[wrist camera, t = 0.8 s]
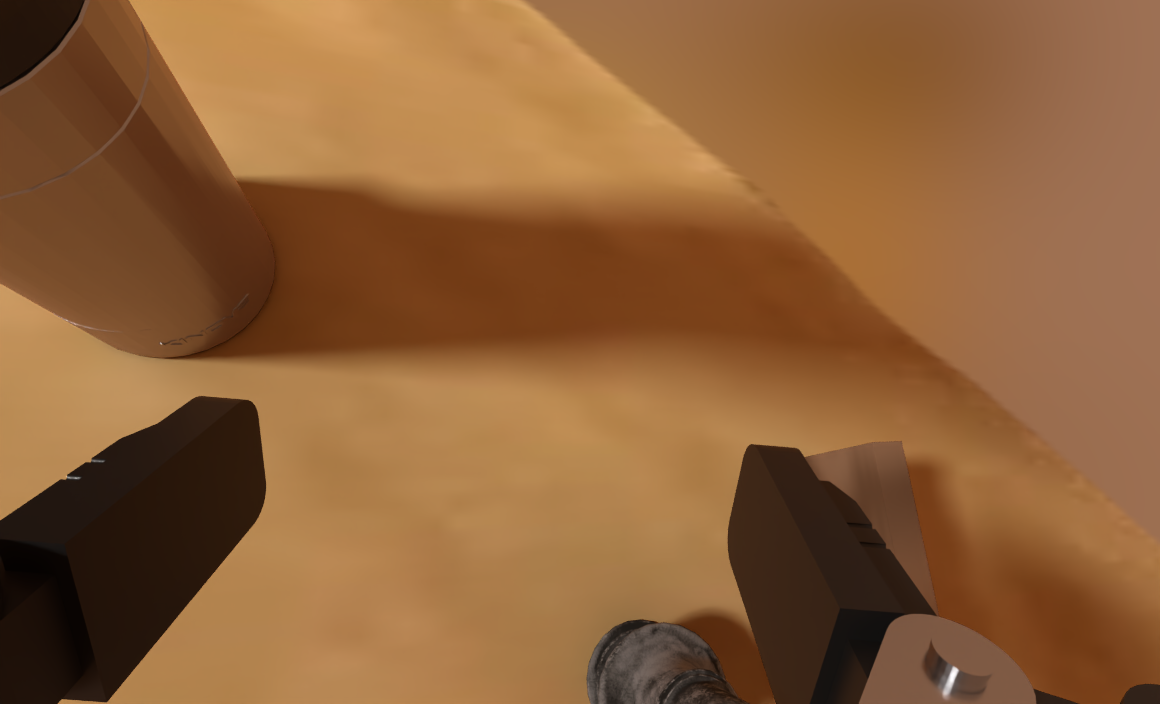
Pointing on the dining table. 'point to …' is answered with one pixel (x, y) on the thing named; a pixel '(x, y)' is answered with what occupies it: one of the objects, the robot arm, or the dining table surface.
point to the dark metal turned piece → (656, 667)
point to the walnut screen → (882, 501)
